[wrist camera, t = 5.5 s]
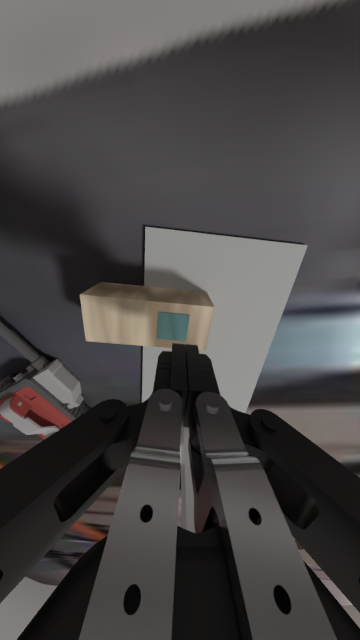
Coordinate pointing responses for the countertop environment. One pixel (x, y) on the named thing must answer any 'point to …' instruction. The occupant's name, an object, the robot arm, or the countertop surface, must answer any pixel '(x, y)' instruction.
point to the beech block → (146, 315)
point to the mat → (225, 300)
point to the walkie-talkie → (39, 393)
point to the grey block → (186, 485)
